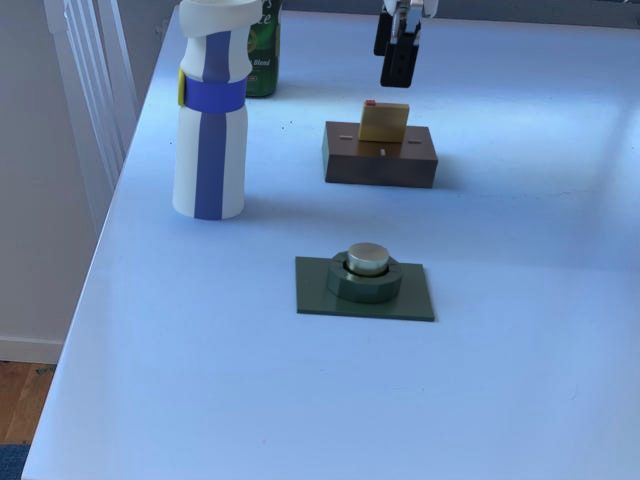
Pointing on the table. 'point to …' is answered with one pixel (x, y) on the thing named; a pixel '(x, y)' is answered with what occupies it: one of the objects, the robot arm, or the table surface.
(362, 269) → the bell button
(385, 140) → the lock knob
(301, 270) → the dark green button base
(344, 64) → the table surface
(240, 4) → the water bottle
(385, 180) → the lock plate
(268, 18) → the coffee jar
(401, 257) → the table surface
